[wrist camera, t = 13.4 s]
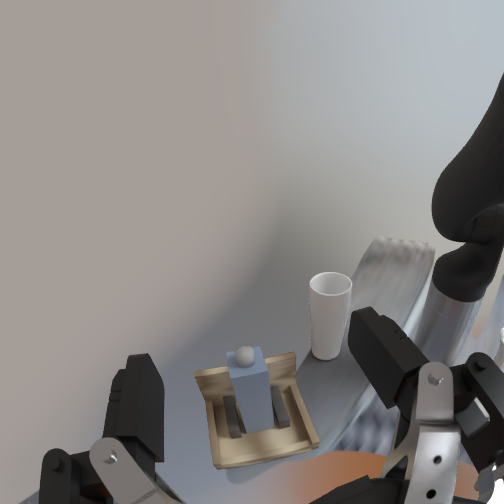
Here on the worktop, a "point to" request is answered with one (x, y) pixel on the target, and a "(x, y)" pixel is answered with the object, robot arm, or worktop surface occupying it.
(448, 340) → the robot arm
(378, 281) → the worktop surface
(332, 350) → the drinking glass
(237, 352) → the blue square bottle
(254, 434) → the box
